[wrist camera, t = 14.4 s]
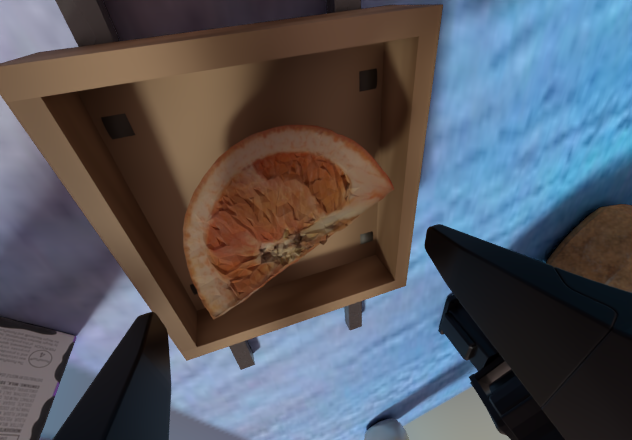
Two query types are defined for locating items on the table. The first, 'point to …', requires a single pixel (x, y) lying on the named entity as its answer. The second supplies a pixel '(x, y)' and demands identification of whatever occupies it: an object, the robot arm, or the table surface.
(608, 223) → the bread
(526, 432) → the robot arm
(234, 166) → the fruit slice
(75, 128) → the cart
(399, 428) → the plastic bottle
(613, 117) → the table surface
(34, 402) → the candy box
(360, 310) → the rail track
